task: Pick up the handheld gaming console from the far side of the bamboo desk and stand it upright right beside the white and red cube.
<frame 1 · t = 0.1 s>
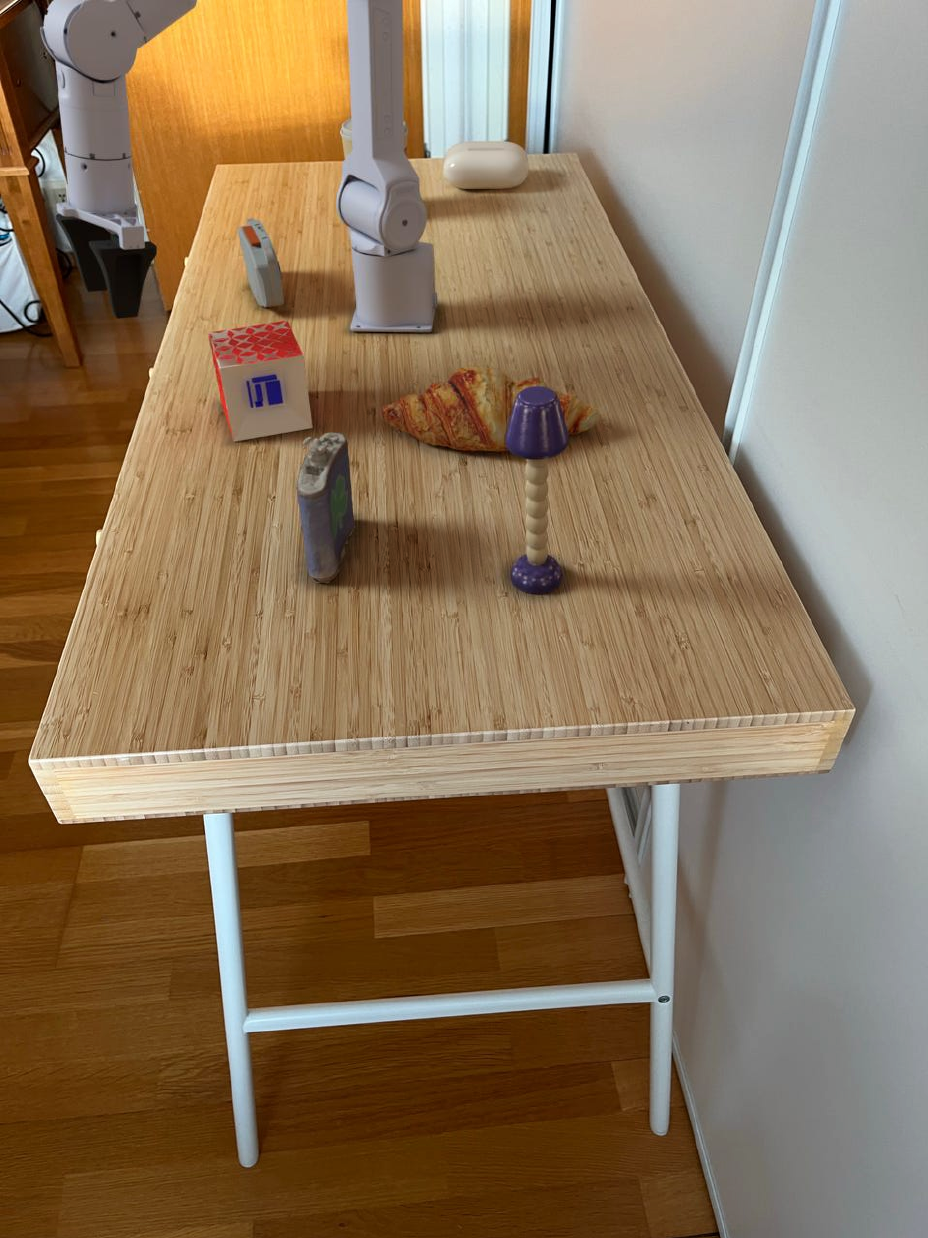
hand: (111, 302, 96), 11 cm above the table, tool pointing down, fingers open, 7 cm apart
earbud case: (485, 184, 153), on the table
white and red cube: (266, 417, 101), on the table
croissant: (491, 436, 97), on the table
flask: (331, 552, 84), on the table
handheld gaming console: (265, 297, 123), on the table
toy lamp: (531, 578, 81), on the table
coffee cup: (379, 214, 144), on the table
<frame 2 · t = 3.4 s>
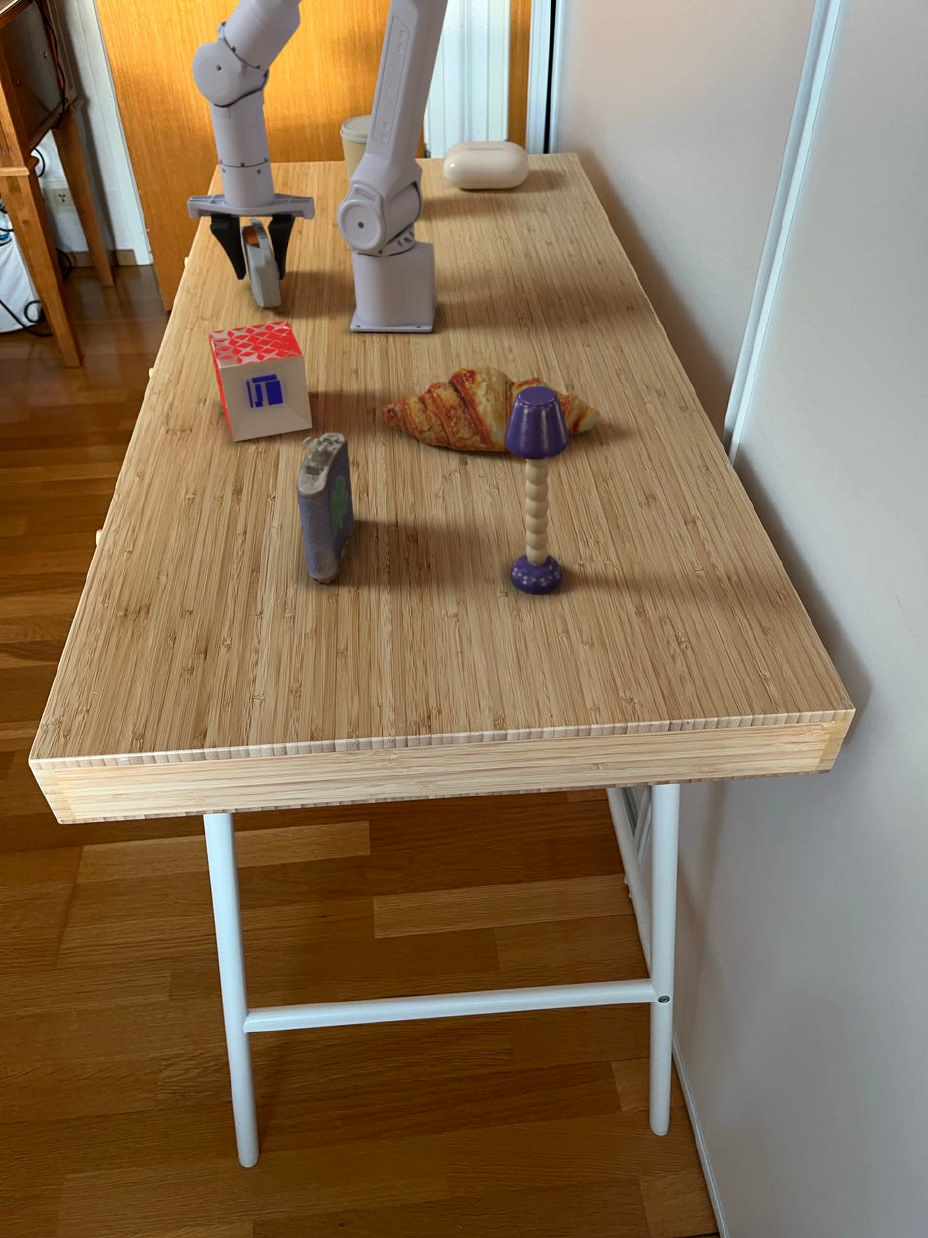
hand: (262, 276, 121), 2 cm above the table, tool pointing down, fingers closed on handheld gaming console, 4 cm apart
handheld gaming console: (264, 297, 123), on the table, touching gripper
everything else where it was.
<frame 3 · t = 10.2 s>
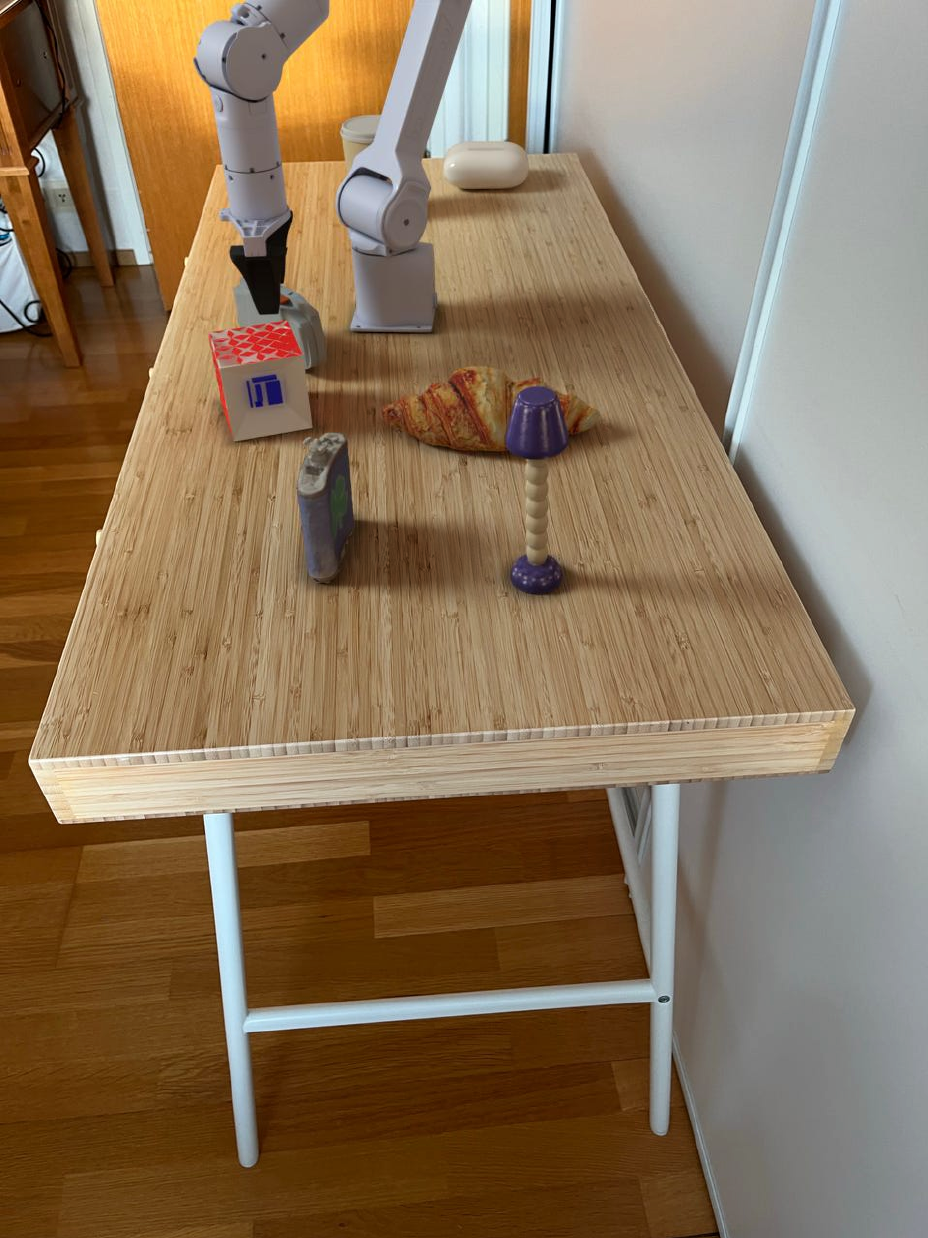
hand: (272, 297, 106), 7 cm above the table, tool pointing down
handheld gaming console: (282, 358, 110), on the table, touching gripper
everything else where it was.
when the fingers open (8 cm above the table, at t = 10.9 s): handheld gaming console stays where it is, on the table.
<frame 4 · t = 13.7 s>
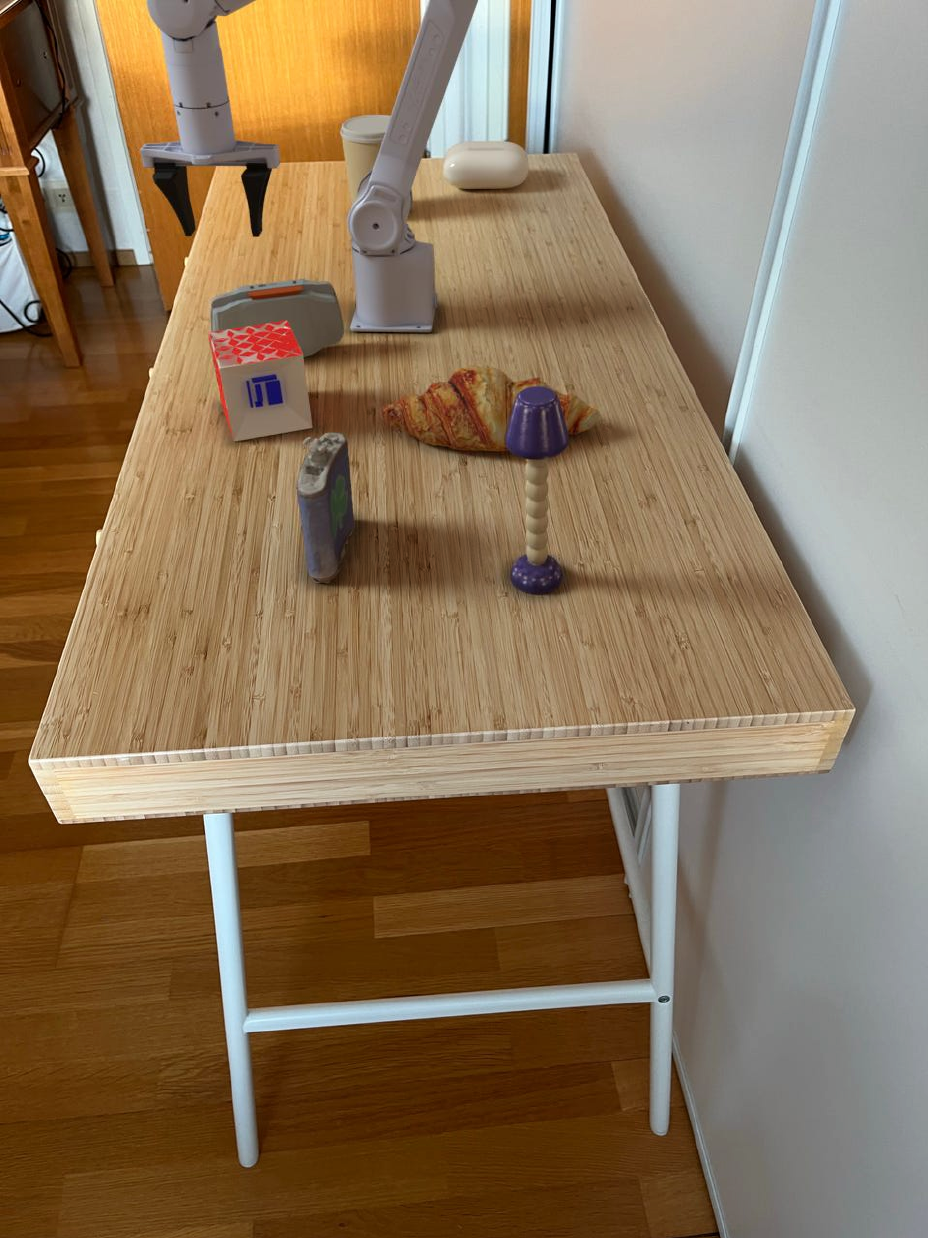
hand: (224, 233, 112), 10 cm above the table, tool pointing down, fingers open, 7 cm apart
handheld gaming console: (282, 357, 111), on the table
everything else where it was.
at the end: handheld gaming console inside the target area on the table beside the white and red cube (0.3 cm from its centre), on the table; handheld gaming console tilted 0°; the gripper is holding nothing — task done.
